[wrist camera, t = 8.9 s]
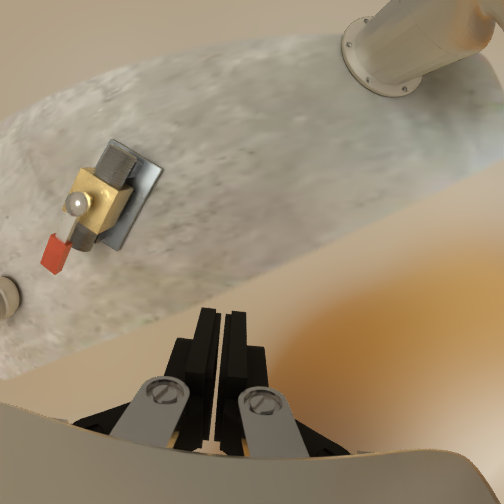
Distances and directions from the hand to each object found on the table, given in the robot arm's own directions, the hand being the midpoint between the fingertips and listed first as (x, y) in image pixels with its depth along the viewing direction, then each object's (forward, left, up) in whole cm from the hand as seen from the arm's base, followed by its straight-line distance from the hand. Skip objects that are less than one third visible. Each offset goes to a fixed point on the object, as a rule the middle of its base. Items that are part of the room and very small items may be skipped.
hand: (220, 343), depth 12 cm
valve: (+5, -15, -28) cm, 32 cm away
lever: (+8, -15, -18) cm, 25 cm away
